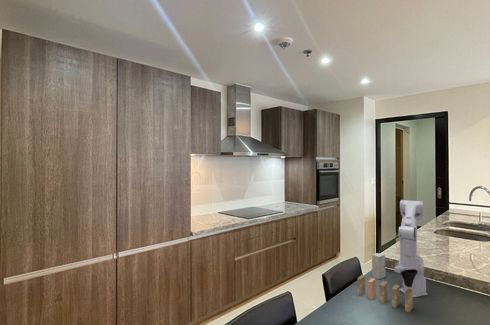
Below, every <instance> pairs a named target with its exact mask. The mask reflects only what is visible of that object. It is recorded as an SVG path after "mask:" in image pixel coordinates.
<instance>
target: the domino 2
mask: <svg viewBox="0 0 490 325" xmlns="http://www.w3.org/2000/svg"><path fill="white" fill-rule="evenodd" d="M376 282H377V278H374V277H371V278H370V279H369V280H368V281H367V292H368V293H367V295H368V296H367V297H368V299H369V300H373V299H374V298H375V297H376V296H377V283H376Z"/></svg>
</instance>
